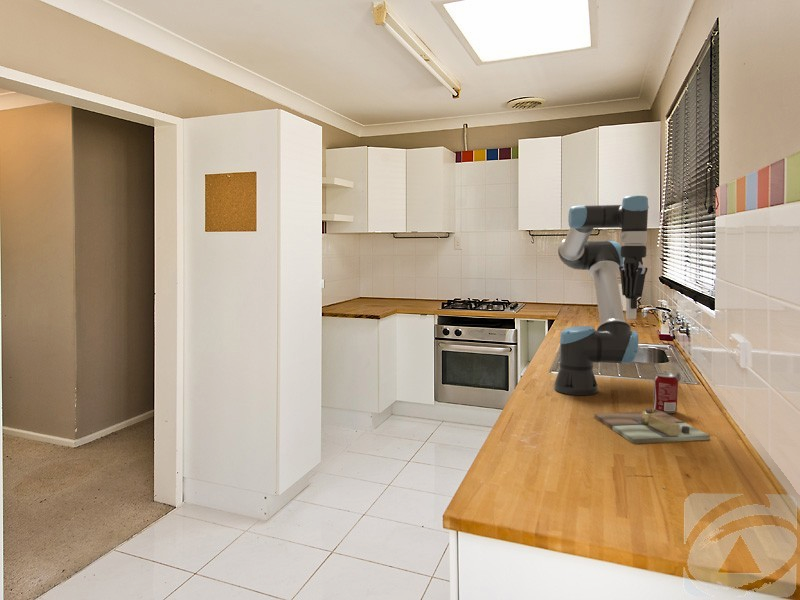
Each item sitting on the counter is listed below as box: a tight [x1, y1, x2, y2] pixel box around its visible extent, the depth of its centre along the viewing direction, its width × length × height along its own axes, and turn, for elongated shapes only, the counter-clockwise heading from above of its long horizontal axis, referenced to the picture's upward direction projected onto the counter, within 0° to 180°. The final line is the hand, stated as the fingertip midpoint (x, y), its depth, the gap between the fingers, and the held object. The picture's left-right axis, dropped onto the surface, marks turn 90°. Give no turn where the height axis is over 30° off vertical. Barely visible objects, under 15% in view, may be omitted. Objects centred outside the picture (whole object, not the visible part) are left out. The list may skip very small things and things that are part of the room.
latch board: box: [594, 410, 711, 444], centre depth 154 cm, size 22×22×3 cm
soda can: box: [652, 372, 679, 415], centre depth 169 cm, size 7×7×12 cm
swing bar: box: [640, 408, 680, 436], centre depth 150 cm, size 13×4×4 cm, turn 10°
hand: (631, 318), depth 172 cm, fingers closed
